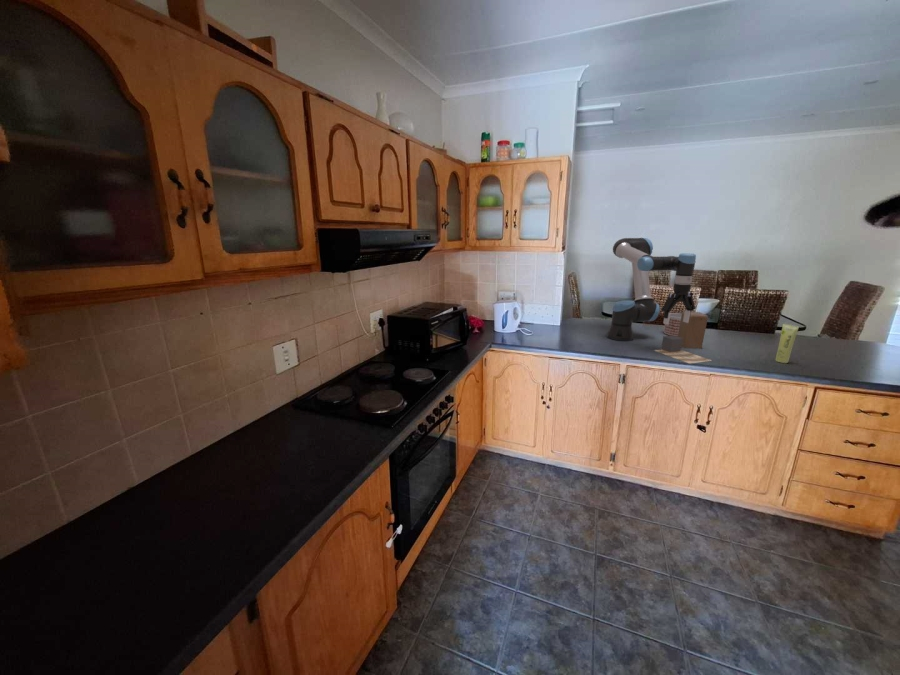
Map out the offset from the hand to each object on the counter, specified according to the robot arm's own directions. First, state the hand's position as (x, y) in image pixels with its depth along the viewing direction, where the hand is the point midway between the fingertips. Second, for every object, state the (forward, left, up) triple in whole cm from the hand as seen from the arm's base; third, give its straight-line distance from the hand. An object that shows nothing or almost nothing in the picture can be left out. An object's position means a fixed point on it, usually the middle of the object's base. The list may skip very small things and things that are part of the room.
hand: (675, 323), depth 191 cm
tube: (+28, +42, -17) cm, 53 cm away
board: (+7, 0, -17) cm, 18 cm away
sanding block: (0, 0, -16) cm, 16 cm away
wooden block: (-5, +19, -17) cm, 26 cm away
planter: (-28, +35, -17) cm, 48 cm away
